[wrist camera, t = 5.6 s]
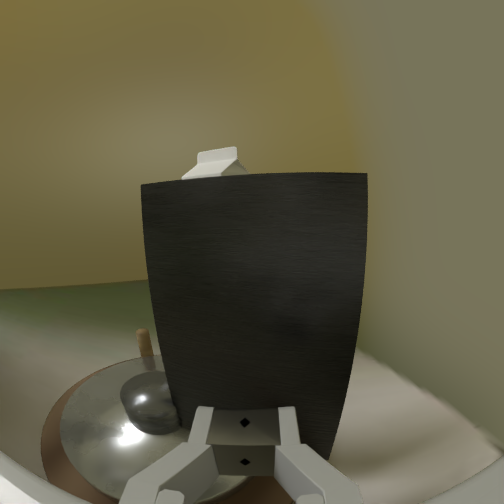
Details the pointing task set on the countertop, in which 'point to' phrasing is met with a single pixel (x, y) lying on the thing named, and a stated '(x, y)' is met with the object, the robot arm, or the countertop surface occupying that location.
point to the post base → (70, 480)
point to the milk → (217, 164)
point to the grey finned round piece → (232, 319)
